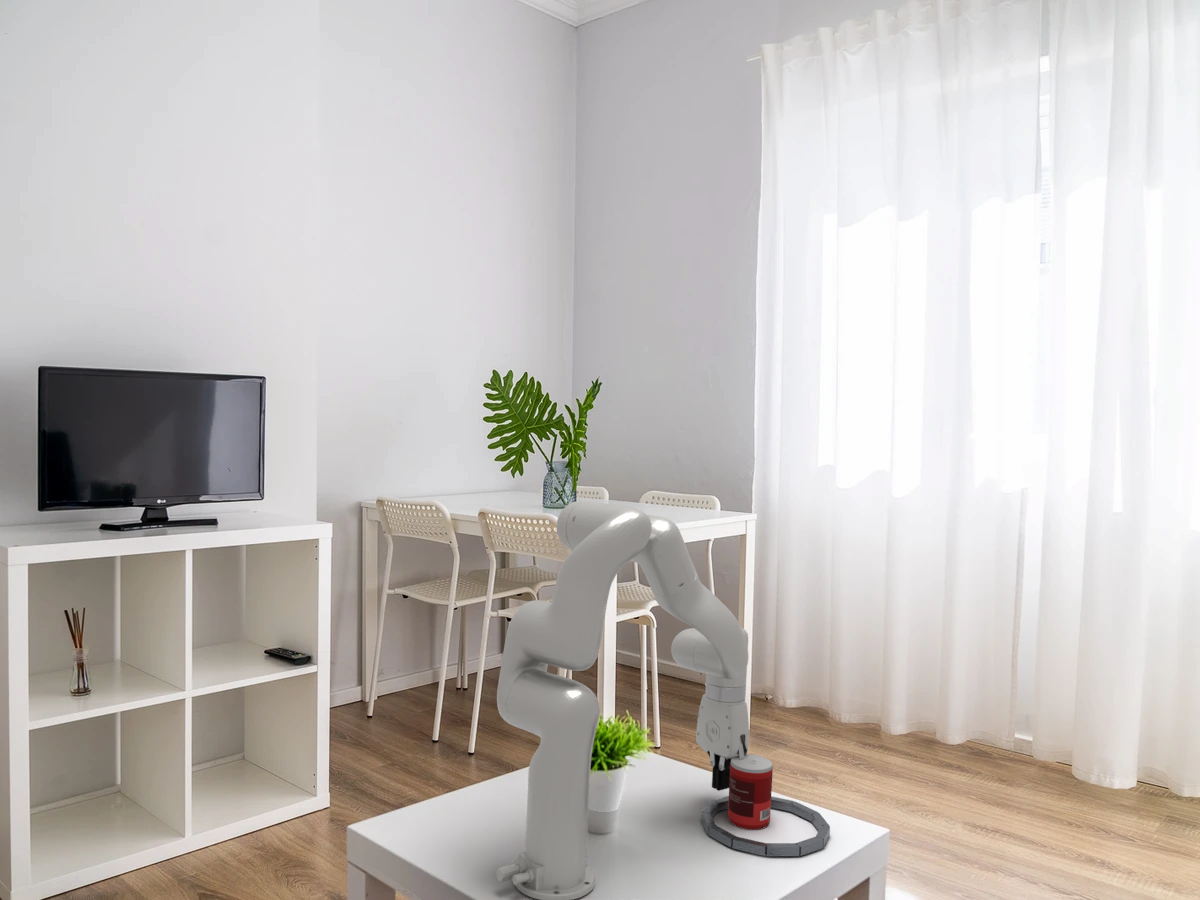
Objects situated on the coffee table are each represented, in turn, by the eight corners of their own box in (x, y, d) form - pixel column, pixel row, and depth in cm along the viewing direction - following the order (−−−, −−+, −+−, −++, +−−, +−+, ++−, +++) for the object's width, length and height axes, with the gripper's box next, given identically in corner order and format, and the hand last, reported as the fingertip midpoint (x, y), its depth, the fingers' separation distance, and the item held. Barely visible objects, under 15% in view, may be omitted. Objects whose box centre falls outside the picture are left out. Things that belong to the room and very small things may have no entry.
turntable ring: (766, 867, 151) (767, 849, 151) (678, 817, 169) (678, 801, 169) (853, 837, 164) (854, 820, 164) (763, 794, 181) (764, 779, 181)
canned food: (768, 813, 173) (770, 755, 173) (771, 832, 165) (774, 771, 165) (726, 810, 174) (729, 752, 173) (728, 828, 166) (731, 767, 165)
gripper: (684, 684, 179) (679, 778, 179) (739, 705, 167) (734, 806, 167) (713, 679, 183) (708, 771, 184) (768, 699, 171) (763, 797, 172)
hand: (720, 787), depth 175 cm, fingers closed
